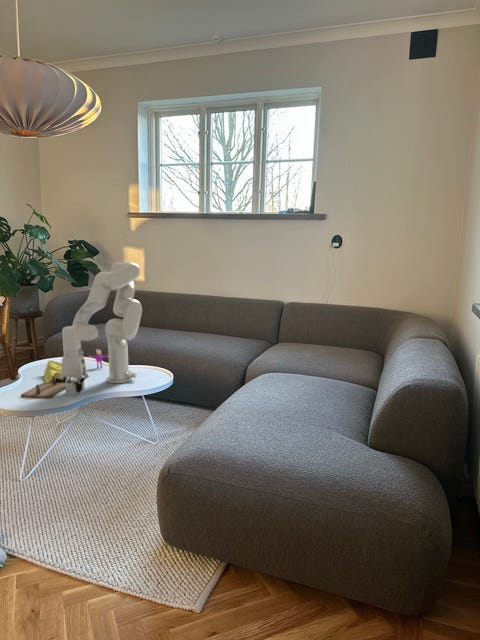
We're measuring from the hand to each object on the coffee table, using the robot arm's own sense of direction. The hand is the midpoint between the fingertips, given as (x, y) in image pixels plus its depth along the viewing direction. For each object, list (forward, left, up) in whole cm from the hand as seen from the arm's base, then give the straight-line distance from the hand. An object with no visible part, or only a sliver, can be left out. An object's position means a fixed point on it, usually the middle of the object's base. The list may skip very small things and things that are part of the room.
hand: (74, 390), depth 198 cm
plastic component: (+20, -20, -1) cm, 28 cm away
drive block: (0, 0, -1) cm, 1 cm away
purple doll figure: (+7, -41, -1) cm, 42 cm away
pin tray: (+14, 0, -1) cm, 14 cm away
